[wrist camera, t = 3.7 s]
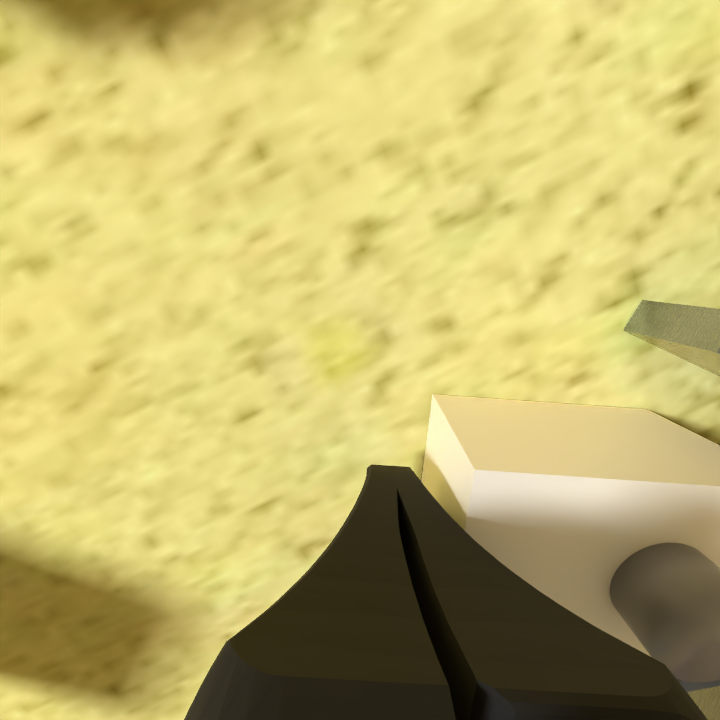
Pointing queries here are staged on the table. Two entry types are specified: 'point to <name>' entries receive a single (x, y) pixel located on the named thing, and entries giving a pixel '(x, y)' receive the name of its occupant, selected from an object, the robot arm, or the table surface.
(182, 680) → the table surface
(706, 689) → the motor bracket
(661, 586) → the block
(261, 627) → the robot arm
